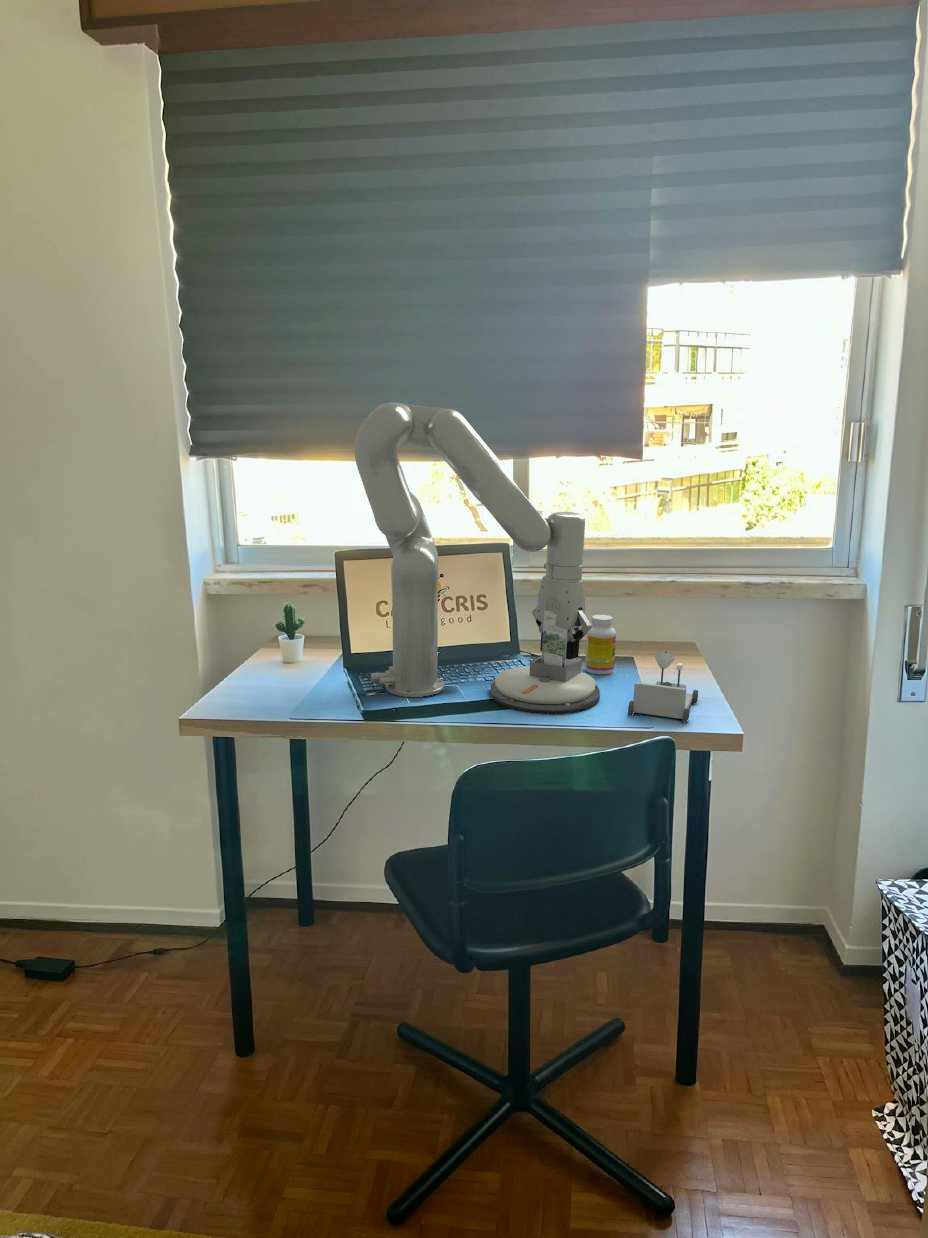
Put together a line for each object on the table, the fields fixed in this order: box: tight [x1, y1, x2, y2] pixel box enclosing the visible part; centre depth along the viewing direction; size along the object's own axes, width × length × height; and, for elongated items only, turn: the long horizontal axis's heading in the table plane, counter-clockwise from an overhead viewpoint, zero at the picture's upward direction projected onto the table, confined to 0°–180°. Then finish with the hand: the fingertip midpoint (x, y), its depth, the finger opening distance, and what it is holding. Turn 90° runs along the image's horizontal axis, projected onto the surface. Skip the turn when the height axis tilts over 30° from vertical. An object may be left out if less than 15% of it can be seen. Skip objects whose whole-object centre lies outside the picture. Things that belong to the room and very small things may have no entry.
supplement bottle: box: [584, 614, 617, 676], centre depth 207 cm, size 7×7×13 cm
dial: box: [494, 655, 596, 704], centre depth 190 cm, size 21×21×4 cm
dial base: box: [489, 680, 601, 715], centre depth 191 cm, size 23×23×2 cm
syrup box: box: [541, 610, 576, 668], centre depth 193 cm, size 6×6×14 cm
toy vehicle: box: [627, 651, 699, 723], centre depth 185 cm, size 18×10×12 cm
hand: (559, 653), depth 193 cm, fingers closed on syrup box, 6 cm apart
